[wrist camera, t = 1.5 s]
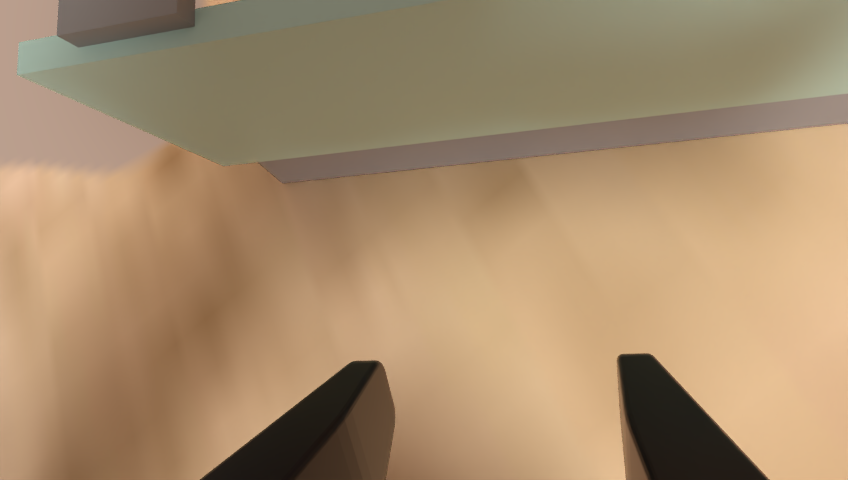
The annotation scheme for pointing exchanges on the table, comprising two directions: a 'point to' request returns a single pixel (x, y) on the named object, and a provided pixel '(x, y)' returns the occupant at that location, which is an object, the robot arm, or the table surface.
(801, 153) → the table surface
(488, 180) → the table surface
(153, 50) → the duct cover
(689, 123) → the cable duct
